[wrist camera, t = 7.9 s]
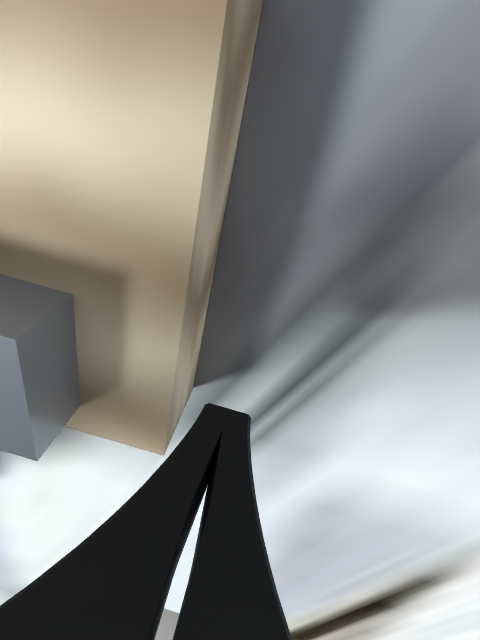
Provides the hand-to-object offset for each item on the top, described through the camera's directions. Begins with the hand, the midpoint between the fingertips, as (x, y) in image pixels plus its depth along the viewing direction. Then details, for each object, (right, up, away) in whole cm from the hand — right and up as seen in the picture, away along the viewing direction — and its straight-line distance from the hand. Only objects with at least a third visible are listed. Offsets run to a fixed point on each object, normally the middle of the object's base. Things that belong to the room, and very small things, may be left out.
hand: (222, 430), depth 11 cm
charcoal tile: (-7, +3, +1) cm, 8 cm away
